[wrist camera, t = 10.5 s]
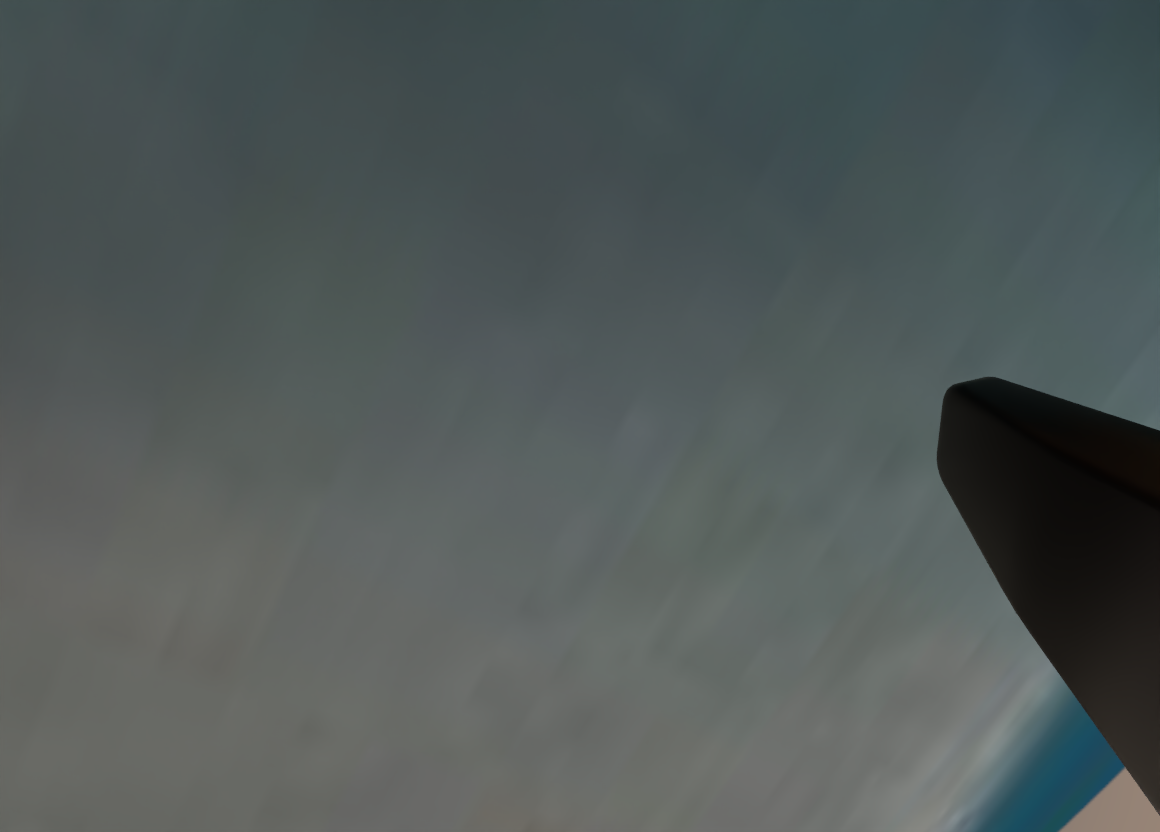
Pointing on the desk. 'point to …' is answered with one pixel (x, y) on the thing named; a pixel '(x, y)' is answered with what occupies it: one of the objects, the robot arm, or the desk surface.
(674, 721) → the desk surface
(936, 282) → the desk surface
